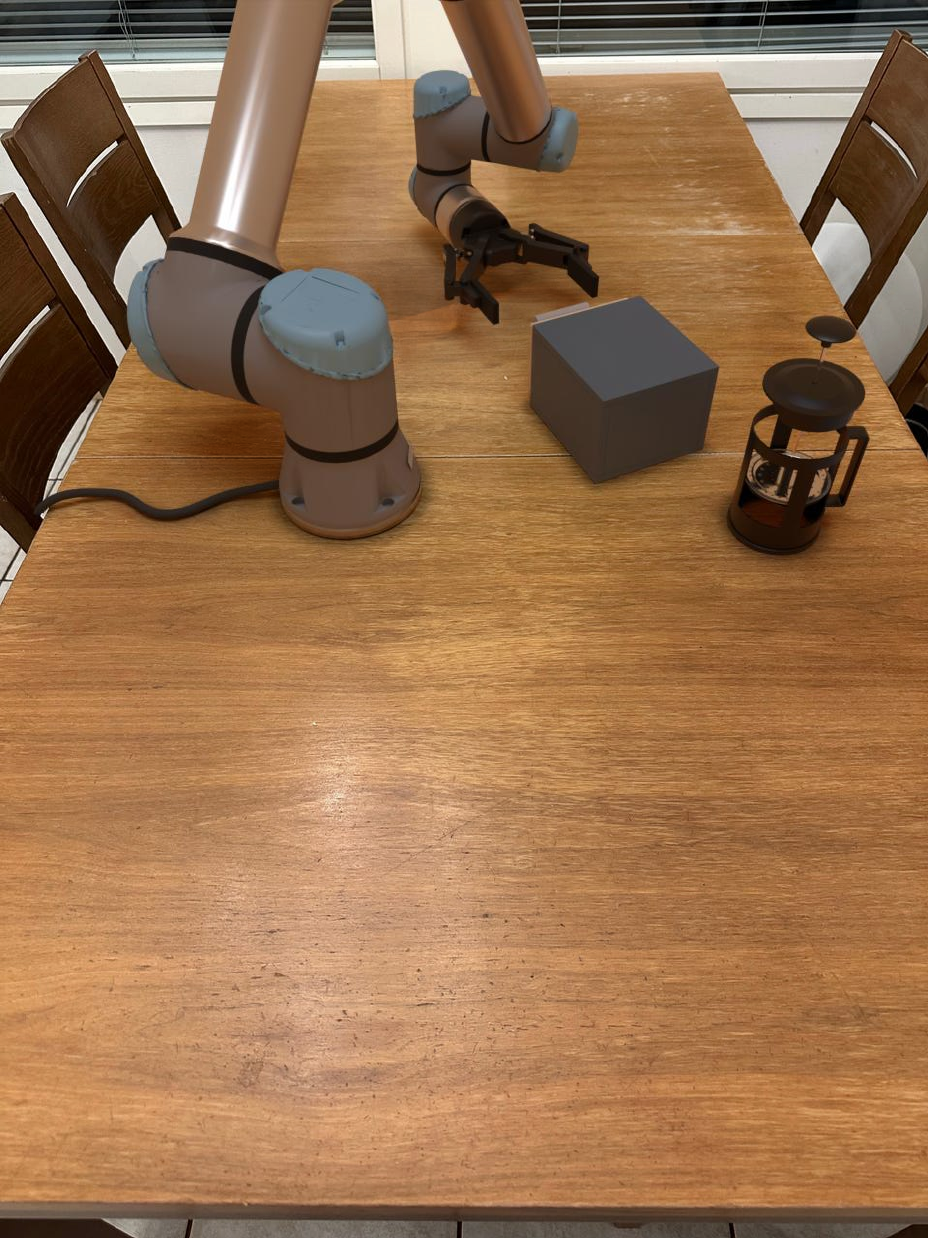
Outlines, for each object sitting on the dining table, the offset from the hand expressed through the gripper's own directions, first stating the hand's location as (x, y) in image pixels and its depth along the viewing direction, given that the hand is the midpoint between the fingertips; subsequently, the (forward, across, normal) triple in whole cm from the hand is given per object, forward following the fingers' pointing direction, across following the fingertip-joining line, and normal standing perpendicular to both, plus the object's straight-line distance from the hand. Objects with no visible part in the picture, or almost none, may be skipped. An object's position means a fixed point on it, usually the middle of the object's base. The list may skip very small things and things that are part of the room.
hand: (546, 300), depth 115 cm
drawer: (+13, 0, -6) cm, 14 cm away
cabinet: (+17, 0, -7) cm, 19 cm away
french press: (+39, -7, -7) cm, 40 cm away
